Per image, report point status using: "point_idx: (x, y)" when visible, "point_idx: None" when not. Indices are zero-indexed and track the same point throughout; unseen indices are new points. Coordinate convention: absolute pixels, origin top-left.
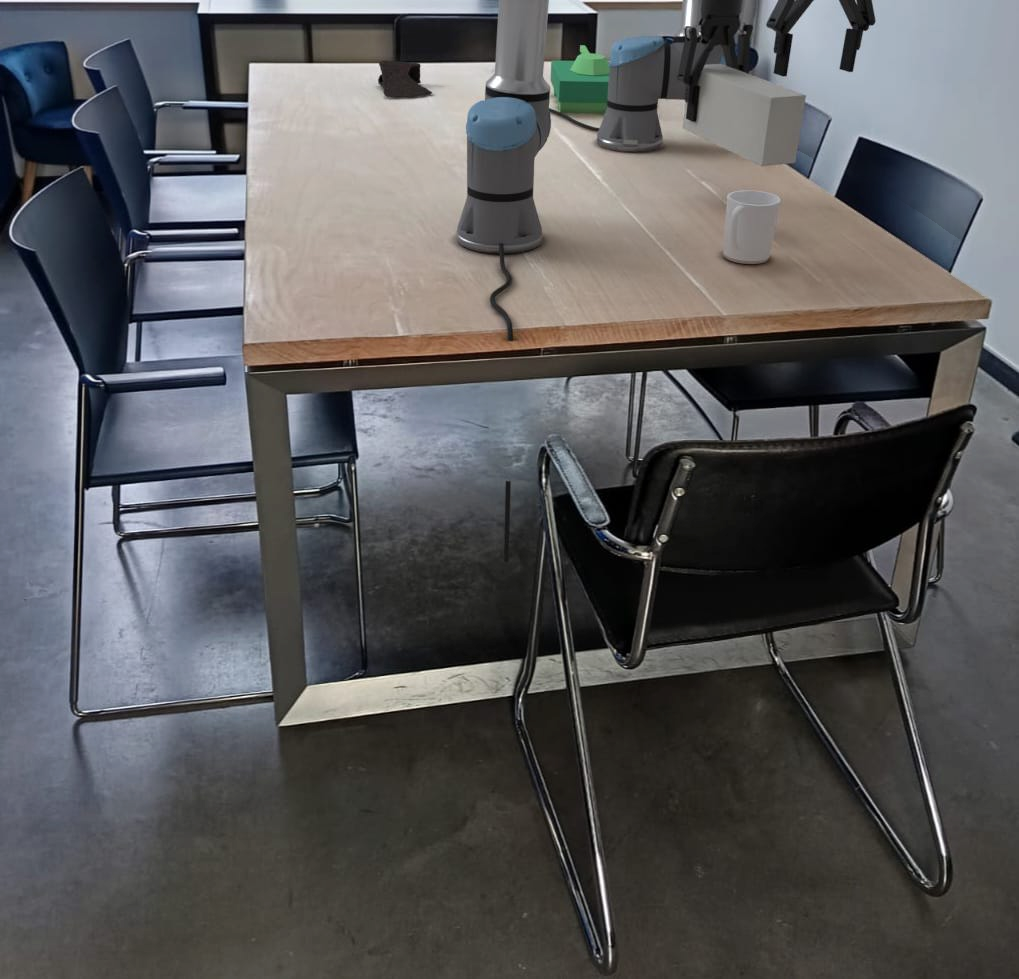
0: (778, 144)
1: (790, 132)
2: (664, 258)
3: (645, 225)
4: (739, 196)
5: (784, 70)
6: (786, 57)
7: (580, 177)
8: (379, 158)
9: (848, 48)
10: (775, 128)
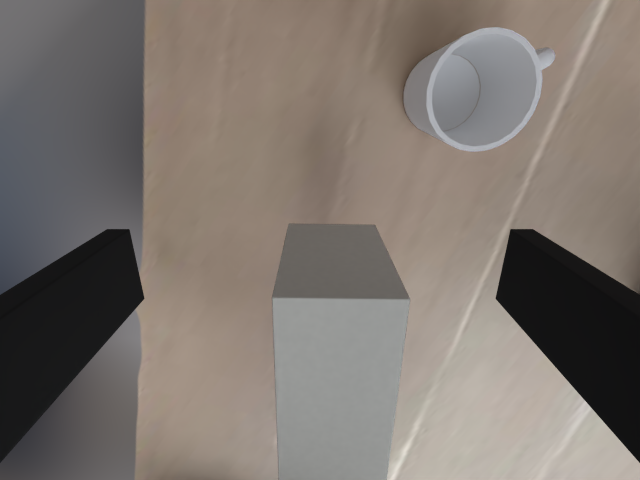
0: (343, 239)
1: (313, 249)
2: (557, 138)
3: (479, 275)
4: (473, 143)
5: (546, 239)
6: (590, 270)
7: (427, 453)
8: None
9: (68, 325)
10: (364, 256)
